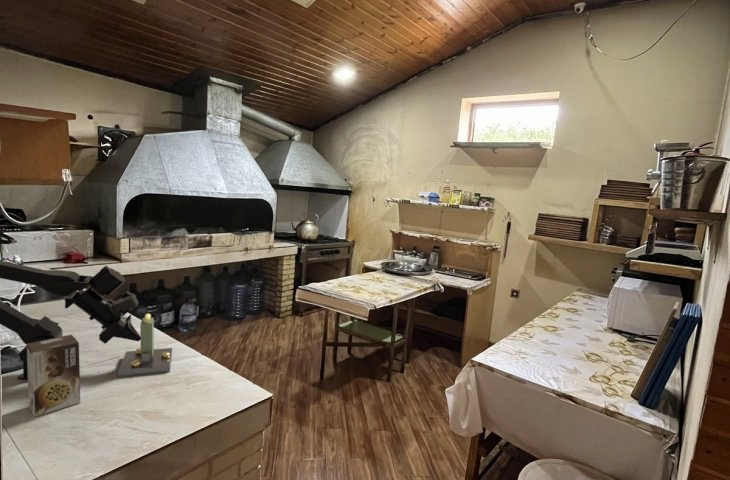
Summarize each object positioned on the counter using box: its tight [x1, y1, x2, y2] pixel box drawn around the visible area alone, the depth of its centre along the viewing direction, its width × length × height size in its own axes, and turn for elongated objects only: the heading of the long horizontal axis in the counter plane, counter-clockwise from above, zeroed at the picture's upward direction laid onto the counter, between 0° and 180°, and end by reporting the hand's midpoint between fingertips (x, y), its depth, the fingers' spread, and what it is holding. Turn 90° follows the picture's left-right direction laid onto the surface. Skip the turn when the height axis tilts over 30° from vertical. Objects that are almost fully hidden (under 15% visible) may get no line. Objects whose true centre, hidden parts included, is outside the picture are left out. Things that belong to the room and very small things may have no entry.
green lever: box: [139, 313, 155, 359], centre depth 117 cm, size 3×5×13 cm, turn 24°
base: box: [118, 347, 173, 378], centre depth 118 cm, size 13×13×5 cm
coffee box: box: [27, 334, 81, 418], centre depth 94 cm, size 9×6×16 cm
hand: (139, 339), depth 116 cm, fingers closed
